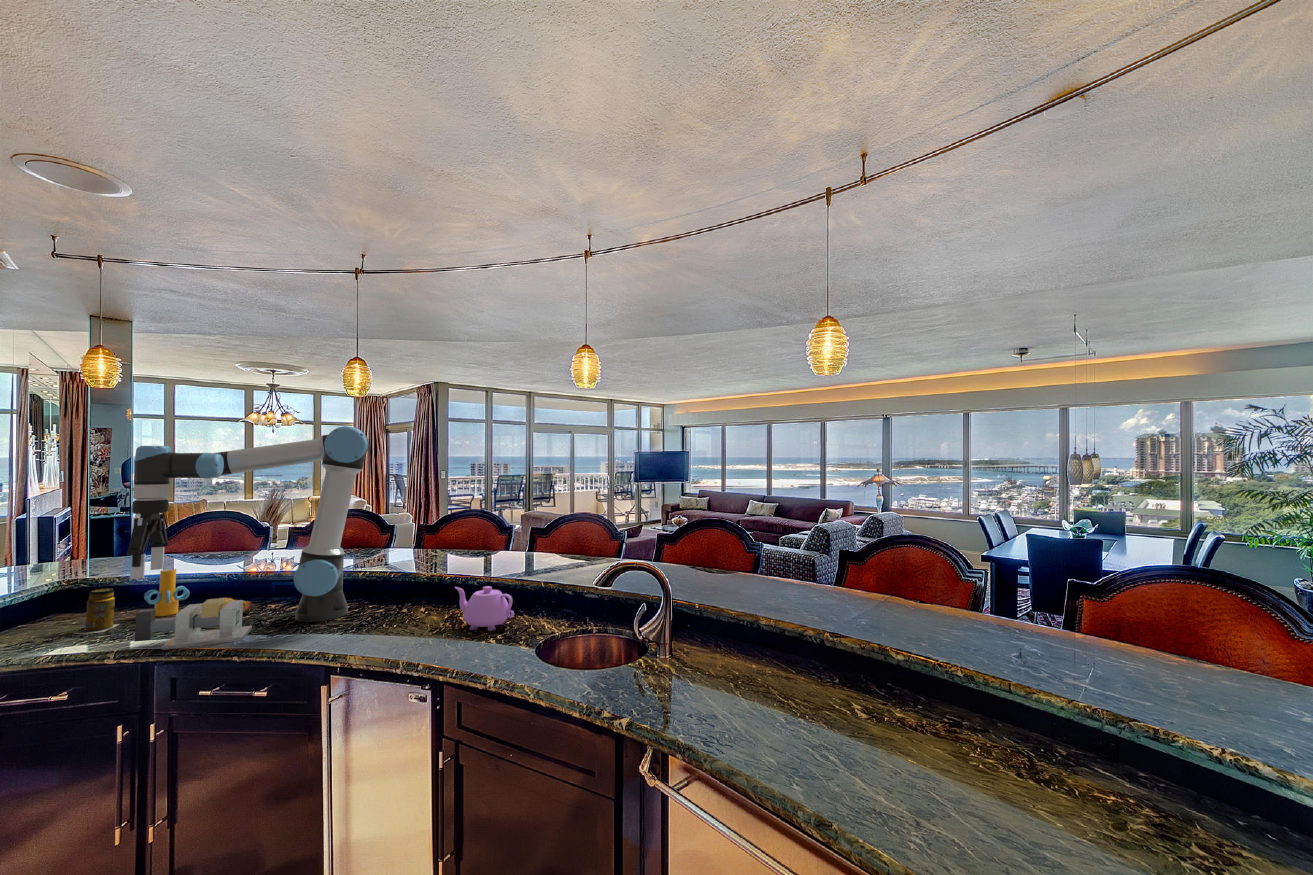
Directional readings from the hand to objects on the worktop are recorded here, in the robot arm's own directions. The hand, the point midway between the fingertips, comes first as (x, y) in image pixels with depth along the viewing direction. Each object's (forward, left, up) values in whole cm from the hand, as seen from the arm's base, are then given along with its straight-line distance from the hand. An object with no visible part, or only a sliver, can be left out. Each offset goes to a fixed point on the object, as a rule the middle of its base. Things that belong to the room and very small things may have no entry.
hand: (147, 573), depth 151 cm
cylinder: (+6, -38, -21) cm, 44 cm away
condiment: (+19, -26, -21) cm, 38 cm away
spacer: (-15, 0, -13) cm, 20 cm away
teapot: (-90, +22, -21) cm, 95 cm away
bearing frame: (-15, 0, -20) cm, 25 cm away
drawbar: (-10, 0, -18) cm, 21 cm away
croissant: (-11, -25, -21) cm, 34 cm away
